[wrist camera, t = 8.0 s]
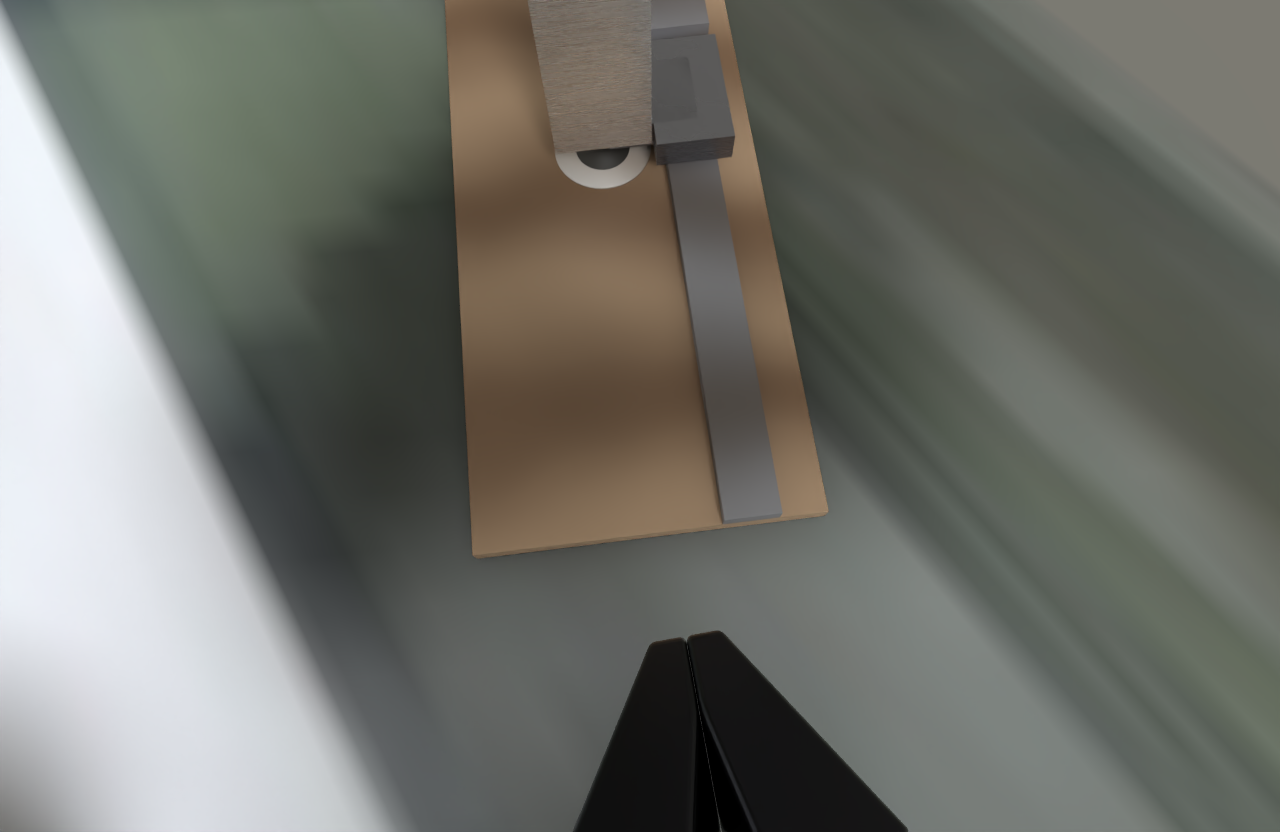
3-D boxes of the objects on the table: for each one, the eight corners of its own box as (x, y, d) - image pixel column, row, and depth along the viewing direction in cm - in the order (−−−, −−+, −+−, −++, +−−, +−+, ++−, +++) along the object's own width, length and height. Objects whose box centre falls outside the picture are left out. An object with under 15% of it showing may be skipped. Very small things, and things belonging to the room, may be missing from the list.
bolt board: (824, 515, 22) (1188, 159, 7) (477, 558, 22) (89, 285, 7) (715, -22, 29) (784, -796, 14) (448, 7, 29) (219, -748, 14)
